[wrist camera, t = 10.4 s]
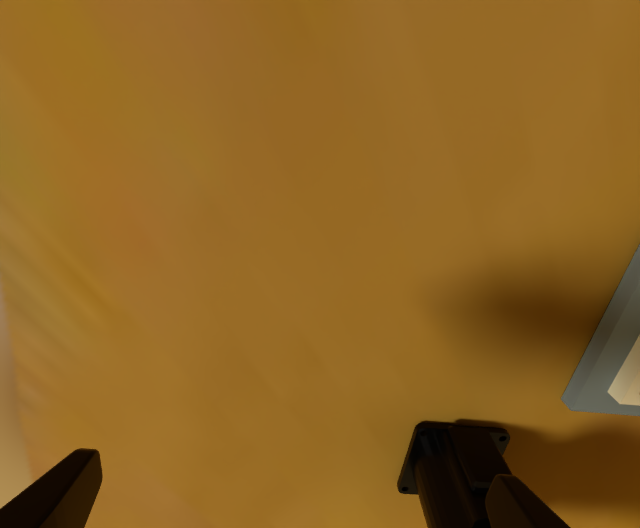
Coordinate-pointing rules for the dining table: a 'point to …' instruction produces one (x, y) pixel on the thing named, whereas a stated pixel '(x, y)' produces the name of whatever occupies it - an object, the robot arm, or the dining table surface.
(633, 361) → the board
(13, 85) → the dining table surface
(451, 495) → the robot arm
